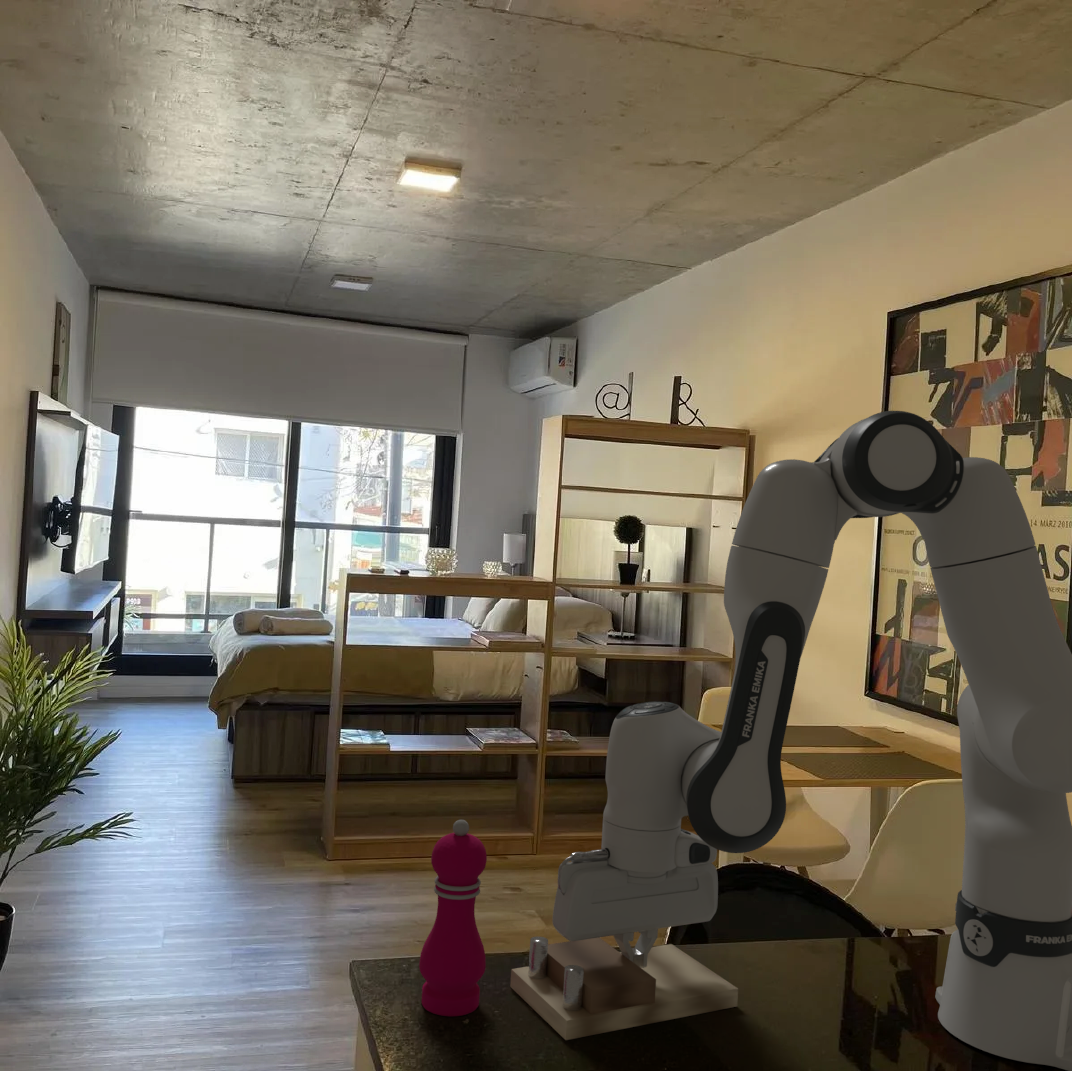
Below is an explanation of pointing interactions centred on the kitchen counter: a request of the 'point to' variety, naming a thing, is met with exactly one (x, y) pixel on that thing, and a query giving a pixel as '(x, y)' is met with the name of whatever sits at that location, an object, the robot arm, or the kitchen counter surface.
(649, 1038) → the kitchen counter surface
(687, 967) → the board
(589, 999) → the walnut plate
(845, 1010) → the kitchen counter surface
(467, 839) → the pepper mill
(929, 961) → the kitchen counter surface
